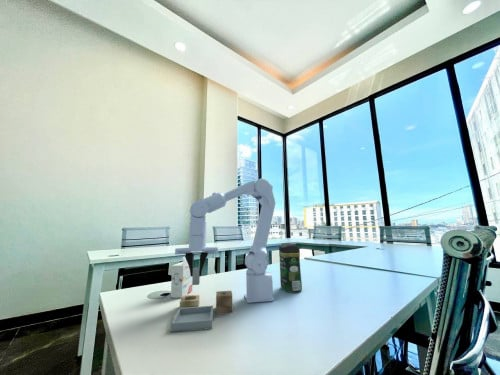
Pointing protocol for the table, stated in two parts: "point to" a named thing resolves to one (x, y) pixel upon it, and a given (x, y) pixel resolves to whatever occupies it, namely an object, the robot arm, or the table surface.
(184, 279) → the ink cartridge box
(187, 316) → the tray
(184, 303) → the wooden square frame
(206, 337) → the table surface
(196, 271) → the gray metal block
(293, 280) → the coffee jar
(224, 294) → the walnut block
